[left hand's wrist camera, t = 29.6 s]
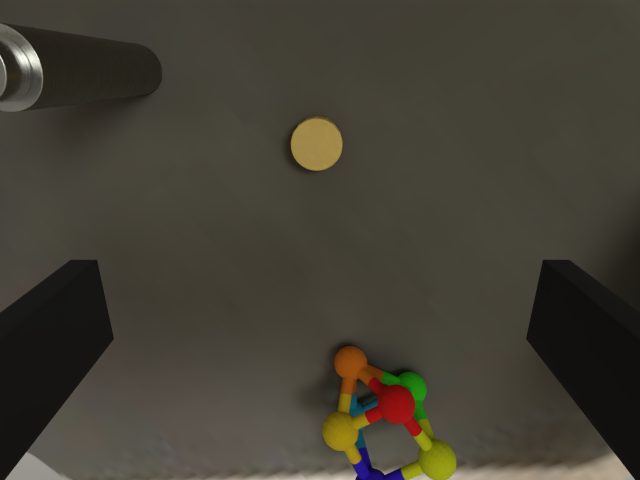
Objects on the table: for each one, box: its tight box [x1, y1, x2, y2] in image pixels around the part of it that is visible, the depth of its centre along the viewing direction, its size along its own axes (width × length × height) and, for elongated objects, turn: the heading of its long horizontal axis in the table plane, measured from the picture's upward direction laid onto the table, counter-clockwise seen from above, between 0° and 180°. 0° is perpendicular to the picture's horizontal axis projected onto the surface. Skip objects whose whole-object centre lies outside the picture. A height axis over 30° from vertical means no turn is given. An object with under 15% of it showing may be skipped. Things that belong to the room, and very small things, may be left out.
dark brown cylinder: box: [0, 23, 162, 112], centre depth 29 cm, size 4×4×20 cm
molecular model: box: [322, 346, 456, 480], centre depth 46 cm, size 15×12×15 cm
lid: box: [290, 115, 343, 171], centre depth 40 cm, size 5×5×2 cm
